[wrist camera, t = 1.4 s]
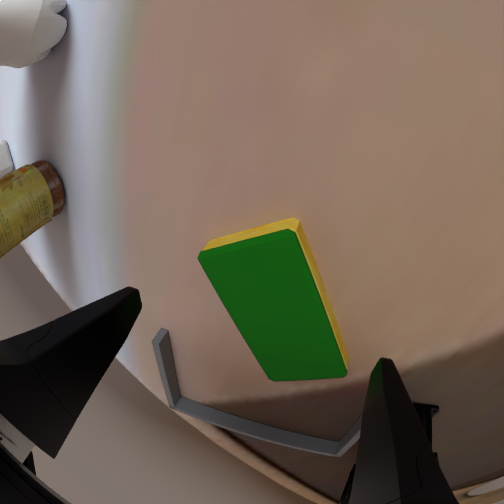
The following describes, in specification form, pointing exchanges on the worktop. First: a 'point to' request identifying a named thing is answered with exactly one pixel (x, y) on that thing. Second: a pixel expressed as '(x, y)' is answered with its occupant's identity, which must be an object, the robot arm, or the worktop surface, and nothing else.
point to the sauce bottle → (28, 202)
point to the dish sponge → (278, 300)
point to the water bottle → (29, 30)
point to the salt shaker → (5, 159)
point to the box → (236, 423)
